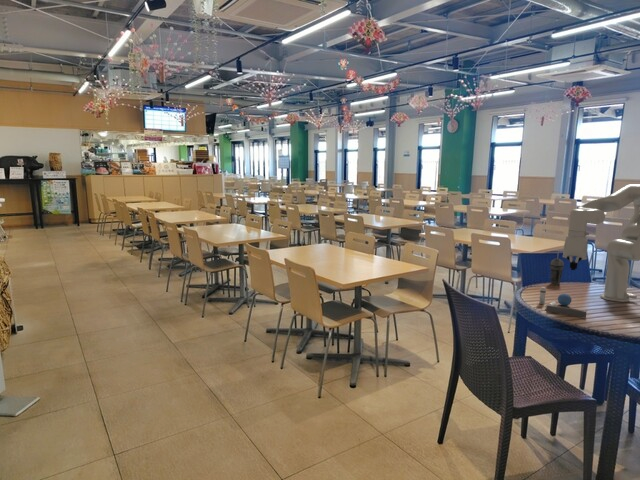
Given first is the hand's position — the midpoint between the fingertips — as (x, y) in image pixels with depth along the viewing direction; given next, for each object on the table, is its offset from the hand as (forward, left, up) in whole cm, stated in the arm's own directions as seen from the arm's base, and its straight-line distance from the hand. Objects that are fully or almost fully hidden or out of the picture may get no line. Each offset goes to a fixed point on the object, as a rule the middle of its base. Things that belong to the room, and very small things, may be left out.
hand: (573, 269), depth 217 cm
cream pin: (+6, +13, -16) cm, 21 cm away
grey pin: (+11, +12, -17) cm, 24 cm away
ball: (+2, +8, -14) cm, 16 cm away
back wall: (-1, +23, -17) cm, 29 cm away
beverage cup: (+12, -37, -17) cm, 43 cm away
